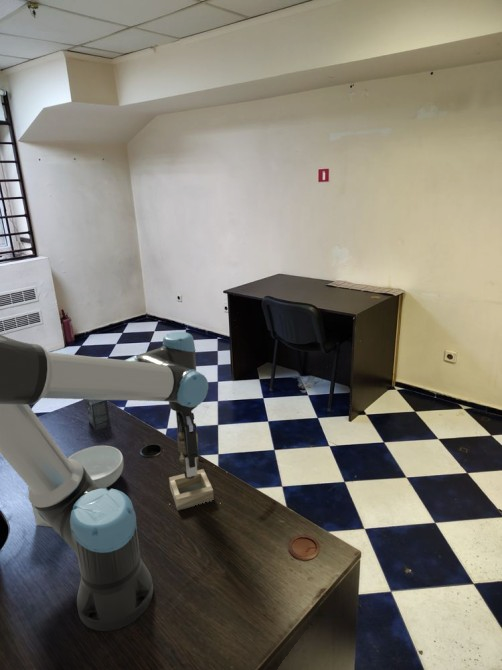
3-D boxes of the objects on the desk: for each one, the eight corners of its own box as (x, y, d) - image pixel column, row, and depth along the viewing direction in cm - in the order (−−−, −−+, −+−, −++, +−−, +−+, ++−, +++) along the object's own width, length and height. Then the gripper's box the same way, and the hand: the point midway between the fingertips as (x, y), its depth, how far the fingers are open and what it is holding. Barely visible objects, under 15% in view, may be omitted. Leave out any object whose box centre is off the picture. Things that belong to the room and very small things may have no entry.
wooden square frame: (213, 500, 121) (213, 489, 120) (177, 510, 118) (176, 499, 117) (204, 479, 130) (203, 468, 129) (169, 487, 127) (168, 477, 126)
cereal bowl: (56, 481, 131) (52, 460, 129) (110, 458, 141) (107, 439, 139) (78, 510, 119) (74, 488, 116) (135, 483, 129) (133, 462, 127)
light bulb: (204, 477, 123) (201, 429, 118) (192, 488, 119) (188, 439, 114) (189, 470, 126) (185, 424, 121) (176, 481, 122) (171, 433, 117)
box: (88, 421, 163) (84, 395, 160) (103, 416, 166) (100, 391, 163) (95, 430, 157) (90, 403, 154) (111, 425, 160) (107, 399, 157)
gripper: (207, 404, 107) (212, 485, 114) (188, 375, 123) (194, 448, 131) (176, 410, 104) (183, 493, 112) (161, 380, 121) (169, 454, 128)
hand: (189, 468), depth 121 cm, fingers closed on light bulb, 5 cm apart
